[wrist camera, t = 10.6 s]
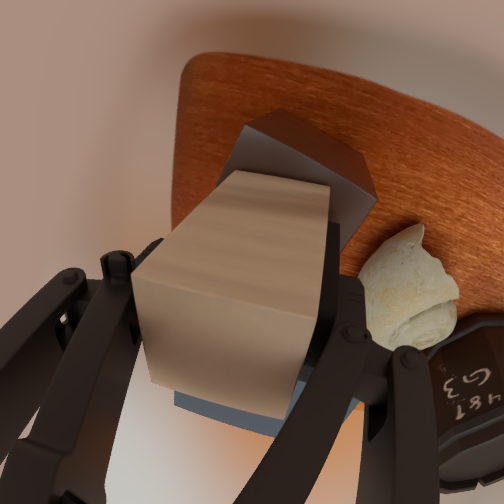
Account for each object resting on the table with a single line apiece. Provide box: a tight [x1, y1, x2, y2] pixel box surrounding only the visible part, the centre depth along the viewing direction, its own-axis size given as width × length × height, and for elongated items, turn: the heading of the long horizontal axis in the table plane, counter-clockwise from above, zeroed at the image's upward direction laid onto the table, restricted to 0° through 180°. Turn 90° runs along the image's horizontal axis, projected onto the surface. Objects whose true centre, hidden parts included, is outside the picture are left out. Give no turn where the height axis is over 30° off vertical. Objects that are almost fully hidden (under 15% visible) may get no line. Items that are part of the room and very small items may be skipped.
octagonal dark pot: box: [423, 313, 504, 494], centre depth 26 cm, size 18×18×16 cm
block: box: [131, 170, 330, 420], centre depth 13 cm, size 5×5×10 cm
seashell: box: [358, 223, 460, 351], centre depth 27 cm, size 13×8×10 cm
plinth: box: [214, 108, 378, 253], centre depth 23 cm, size 8×8×11 cm
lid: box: [174, 374, 360, 438], centre depth 31 cm, size 12×18×1 cm, turn 79°
